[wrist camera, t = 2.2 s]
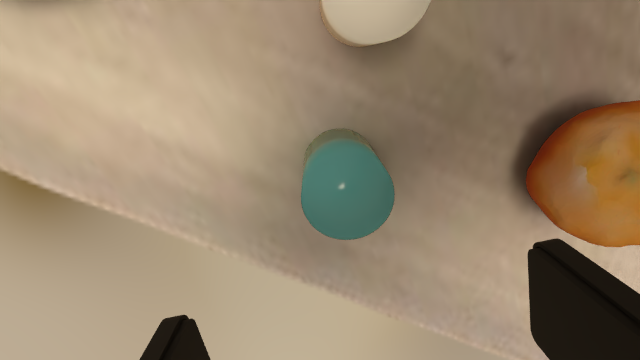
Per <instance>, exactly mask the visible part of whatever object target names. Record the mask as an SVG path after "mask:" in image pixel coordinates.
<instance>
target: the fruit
mask: <svg viewBox="0 0 640 360" xmlns="http://www.w3.org/2000/svg"><path fill="white" fill-rule="evenodd" d="M526 185H527V190H528V192H529V194H530V196H531V197H532V199H533V200H534V201H535V202H536V204H537V205H538V206H539V207H540V209H541V210H542V211H543V212H544V214H545V215H546V216H547V217H548V218H549V219H550V220H551V221H552V222H553V223H554V224H555V225H556V226H557V227H559V228H560V229H562V230H564V231H565V232H567V233H569V234H571V235H573V236H575V237H577V238H580V239H582V240H585V241H587V242H589V243H592V244H596V245H601V246H605V247H623V246H627V245H640V100H639V101H631V102H621V103H614V104H609V105H605V106H601V107H597V108H593V109H590V110H586V111H584V112H582V113H580V114H578V115H576V116H574V117H573V118H571V119H570V120H568V121H567V122H565V123H564V124H562V125H561V126H560V127H559V128H558V129H556V130H555V131H554V132H553V133H552V134H551V136H550V137H549V138H548V139H547V140H546V141H545V142H544V144H543V145H542V147H541V148H540V150H539V151H538V153H537V155H536V156H535V158H534V160H533V161H532V163H531V165H530V166H529V168H528V170H527V177H526Z"/></svg>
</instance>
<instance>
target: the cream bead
mask: <svg viewBox="0 0 640 360" xmlns="http://www.w3.org/2000/svg"><path fill="white" fill-rule="evenodd" d="M430 2H431V0H320V13H321V17H322V20H323V22H324V25H325V26H326V28H327V30H328V31H329V32H330V34H331V35H332V36H333V37H334V38H336V39H337V40H338V41H340V42H342V43H344V44H346V45H349V46H354V47H363V46H369V45H374V44H378V43H383V42H387V41H391V40H394V39H396V38H398V37H401V36H402V35H404V34H406V33H407V32H408V31H410V30H411V29H412V28H413V27H414V26H415V25H416V24H417V23H418V22H419V21H420V19H421V18H422V17H423V15H424V14H425V12H426V10H427V8H428V6H429V4H430Z"/></svg>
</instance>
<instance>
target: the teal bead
mask: <svg viewBox="0 0 640 360" xmlns="http://www.w3.org/2000/svg"><path fill="white" fill-rule="evenodd" d="M394 195H395V194H394V186H393V182H392V180H391V177H390V175H389V174H388V172H387V170H386V169H385V167H384V166H383V164H382V163H381V161H380V160H379V158H378V157H377V155H376V154H375V152H374V151H373V149H372V148H371V146H370V144H369V143H368V142H367V140H366V139H365V138H364V137H362V136H361V135H360V134H358V133H356V132H354V131H351V130H347V129H332V130H329V131H326V132H324V133H322V134H320V135H319V136H317V137H316V138H315V139H314V140H313V141H312V142H311V144H310V145H309V147H308V149H307V151H306V153H305V158H304V168H303V179H302V191H301V203H302V208H303V211H304V214H305V216H306V218H307V219H308V221H309V222H310V224H311V225H312V226H313V227H314V228H315V229H317V230H318V231H319V232H321V233H322V234H324V235H326V236H329V237H332V238H335V239H342V240H351V239H357V238H361V237H364V236H367V235H369V234H371V233H372V232H374V231H375V230H377V229H378V228H379V227H380V226H381V225H382V224H383V223H384V222H385V221H386V219H387V218H388V216H389V214H390V212H391V210H392V207H393V204H394Z"/></svg>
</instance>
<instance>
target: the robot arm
mask: <svg viewBox="0 0 640 360" xmlns="http://www.w3.org/2000/svg"><path fill="white" fill-rule="evenodd" d="M528 274H529V300H530V325H531V333H532V336H533V338H534V340H535V342H536V343H537V345H538V346H539V347H540V348H541V350H542V351H543V352H544V353H545V355H546V356H547V357H548V358H549V359H550V360H640V294H639V293H637V292H636V291H634V290H633V289H632V288H630V287H629V286H627V285H626V284H624V283H623V282H621V281H620V280H619V279H617V278H616V277H614V276H613V275H611V274H610V273H609V272H607V271H606V270H604V269H603V268H601V267H600V266H598V265H597V264H596V263H594V262H593V261H591V260H590V259H588V258H587V257H585V256H584V255H583V254H581V253H580V252H578V251H577V250H575V249H574V248H572V247H571V246H570V245H568V244H567V243H565V242H564V241H562V240H560V239H551V240H546V241H542V242H537V243H535V244H534V245H533V249H530V250H529V251H528ZM140 360H210V357H209V355H208V352H207V350H206V347H205V346H204V342H203V340H202V337H201V335H200V332H199V330H198V327H197V325H196V322H195V320H193V319H189V318H188V317H187V316H186V315H180V316H175V317H170V318H165V319H164V320H162V322H161V323H160V325H159V327H158V328H157V330H156V332H155V334H154V335H153V337H152V339H151V341H150V343H149V344H148V346H147V348H146V350H145V351H144V353H143V355H142V357H141V358H140Z"/></svg>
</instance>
